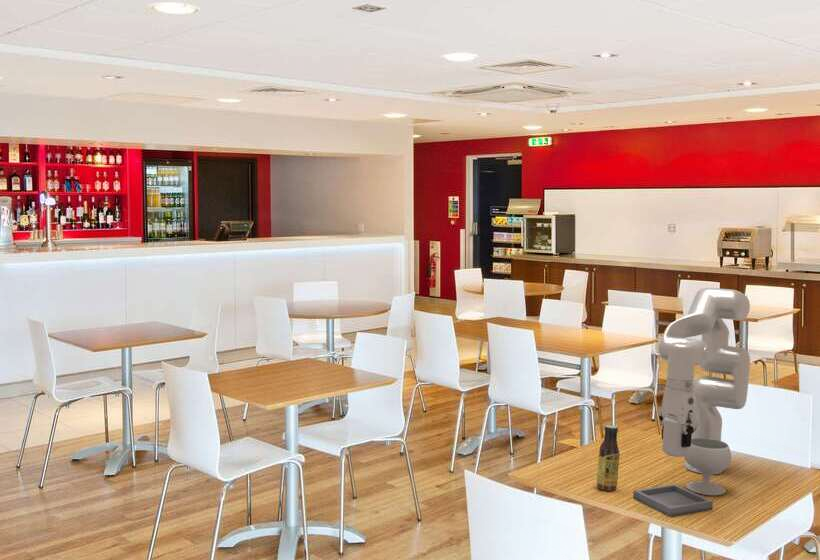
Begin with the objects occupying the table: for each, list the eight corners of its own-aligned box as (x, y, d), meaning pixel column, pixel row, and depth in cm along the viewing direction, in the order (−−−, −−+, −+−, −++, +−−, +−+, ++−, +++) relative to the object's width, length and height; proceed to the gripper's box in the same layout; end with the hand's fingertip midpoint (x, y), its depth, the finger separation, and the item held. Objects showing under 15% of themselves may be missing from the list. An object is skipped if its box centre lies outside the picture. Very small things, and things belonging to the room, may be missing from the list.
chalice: (704, 480, 280) (707, 434, 278) (738, 493, 267) (742, 446, 266) (672, 485, 273) (675, 439, 272) (705, 500, 261) (709, 451, 260)
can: (689, 458, 251) (692, 418, 250) (663, 456, 252) (665, 416, 251) (686, 451, 258) (689, 412, 257) (661, 449, 260) (663, 410, 258)
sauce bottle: (605, 493, 264) (608, 430, 262) (592, 486, 270) (595, 424, 268) (621, 490, 267) (625, 427, 265) (608, 484, 273) (611, 422, 271)
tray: (673, 491, 268) (674, 484, 267) (712, 509, 253) (712, 501, 253) (633, 498, 261) (633, 490, 260) (670, 517, 246) (670, 508, 246)
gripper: (711, 389, 247) (707, 449, 249) (668, 377, 263) (665, 433, 264) (691, 391, 244) (687, 452, 246) (649, 379, 259) (646, 436, 261)
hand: (676, 442), depth 255 cm, fingers closed on can, 7 cm apart
